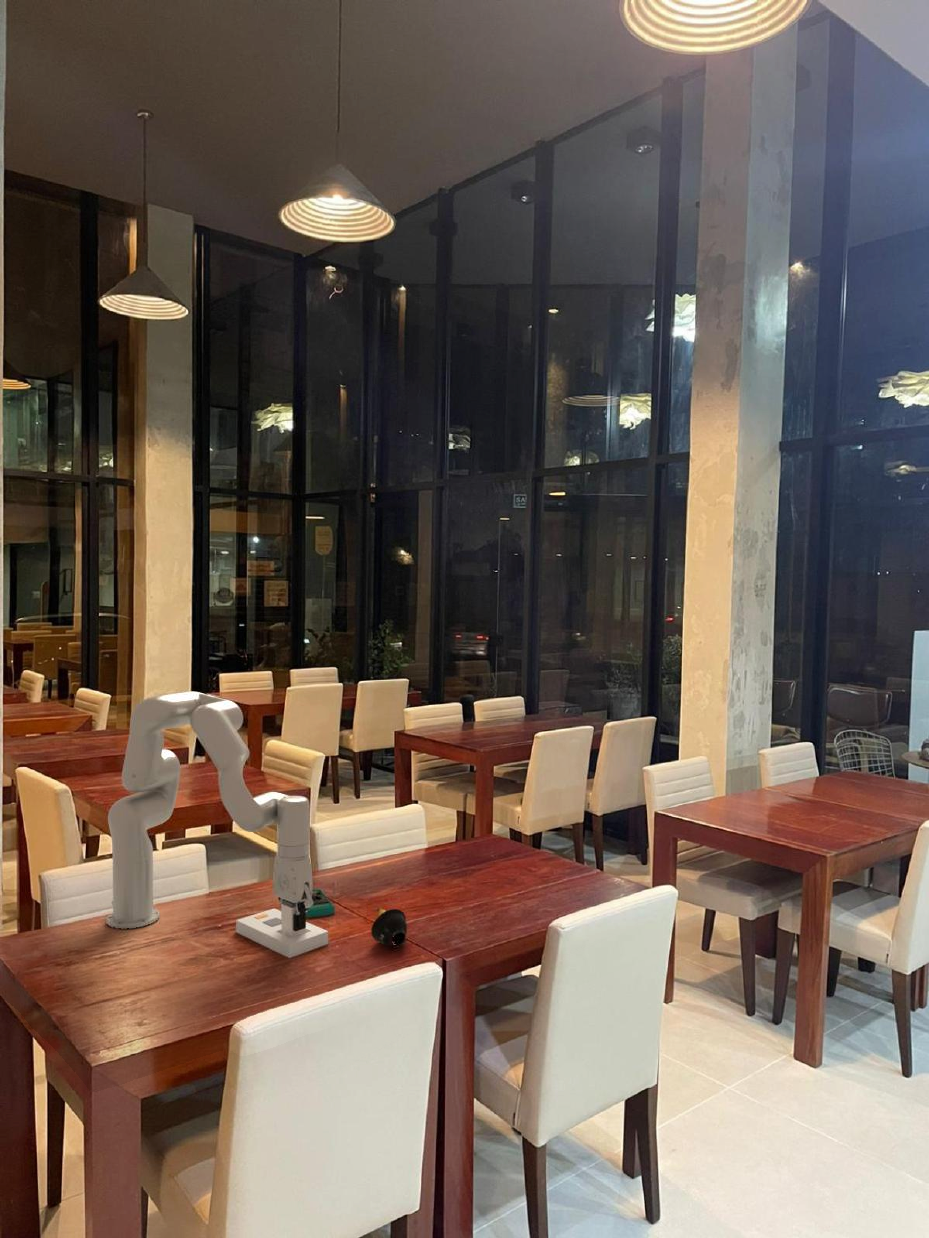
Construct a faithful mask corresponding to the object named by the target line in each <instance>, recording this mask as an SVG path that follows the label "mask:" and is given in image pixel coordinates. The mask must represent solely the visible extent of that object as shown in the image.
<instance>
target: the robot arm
mask: <svg viewBox="0 0 929 1238" xmlns="http://www.w3.org/2000/svg"><path fill="white" fill-rule="evenodd" d="M243 723H244V715H243V712H242V710H241V707H240V706H239V705H238V704H237V703H235V702H234V701H231V700H229V699H225V698H222V697H219V696H214V695H211V694H206V693H202V692H200V691H199V692H198V691H191V690H190V691H184V692H182V691H181V692H175V693H167V694H161V695H156V696H150V697H147V698H145V699H143V700H141V701H139V702H138V703H137V704H136V705H135V706H134V707H133V709H132V712H131V714H130V720H129V734H128V735H129V736H128V740H127V745H126V749H125V756H124V762H123V767H122V772H121V784H122V786H123V788H124V789H125V790H126V791H128V792H130V793H133V794H130V795H128V796H125V797H124V796H123V798H120V799H119V800H116V801H115V802H114V803H113V804H112V805H111V807H110V809H109V811H108V814H107V815H108V816H107V822H108V826H109V832H110V837H111V846H112V853H111V854H112V901H111V905H112V913H110V914H108V915H107V917H106V918H105V921H106V925H107V924H108V925H109V927H110V926H111V928H113V927H115V928H114V929H119V928H121V930H123V929H124V930H125V929H126V930H127V928H129V929H135V928H136V927H137V928H141V927H144V926H145V925H146V926H149V925H151V924H153V923H155V922H156V920H157V921H158V920H159V919H158V918H160V916H161V915H160V914H161V913H160V911H159V909H158V908H154V854H153V853H154V850H153V843H152V841H151V839H150V837H149V834H148V831H147V830H149V829H151V828H155V827H157V826H159V825H162V824H163V823H165V822H166V821H168V820H169V819H170V817H171V816H172V814H173V812H174V808H175V805H176V799H177V795H178V789H179V786H180V785H179V784H180V779H181V764H180V760H179V758H178V756H177V755H176V754H175V752H173V751H171V750H169V749H165V748H164V746H165V745H164V744H165V736H164V731H163V730H167V729H174V728H180V727H185V726H191V727H190V728H191V729H192V731H193V733H194V734H195V736H196V737H197V739H198V741H199V742H200V744H201V745H202V747H203V749H204V750H205V752H206V753H207V755H208V757H209V758H210V760H211V761H212V763H213V764H214V765H215V767H216V769H217V772H218V779H217V780H218V788H219V794H220V798H221V801H222V804H223V806H224V808H225V809H226V811H227V812H228V814H229V816H230V817H231V819H232V820H233V822H234V823H235V824H236V826H238V827H239V828H240V829H241V830H242V831H244V832H248V833H254V832H257V831H258V832H259V831H260V830H262V829H265V828H267V827H269V826H272V825H276V832H277V833H276V837H277V838H276V841H277V843H276V851H277V853H275V854H276V855H275V858H274V864H273V865H274V866H273V875H272V876H273V877H272V892H273V895H275V897H277V899H278V901H279V907H280V909H281V910H280V911H281V925H282V899H285V900H287V901H290V902H292V903H294V908H295V914H293V930H294V931H299V930H302V929H305V928H306V922H307V916H306V912H307V911H308V908H309V907H310V906H312V905H313V899H312V889H313V871H312V864H311V863H312V862H311V855H310V854H311V851H310V850H311V848H310V847H311V846H310V845H311V840H310V837H311V836H310V834H311V833H310V831H311V829H310V825H311V823H310V822H311V819H310V818H311V815H310V813H311V812H310V811H311V810H310V808H311V807H310V806H311V805H310V804H311V803H310V801H309V799H308V798H307V797H305V796H304V795H303V796H302V795H287V794H284V793H280V792H276V791H268V792H265V793H262V794H259V795H256V796H254V797H253V795H252V794H251V792H250V791H249V789H248V788H247V786H246V783H245V779H244V777H243V772H244V766H245V764H246V762H247V760H248V758H249V757H250V750H249V748H248V746H247V745H246V743H245V742H244V740H243V739H242V737H241V736H240V734H239V733H238V730H240V728H241V727H242V725H243ZM301 902H302V904H301V906H300V907H299V903H301ZM148 924H149V925H148ZM108 925H107V926H108Z"/></svg>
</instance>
